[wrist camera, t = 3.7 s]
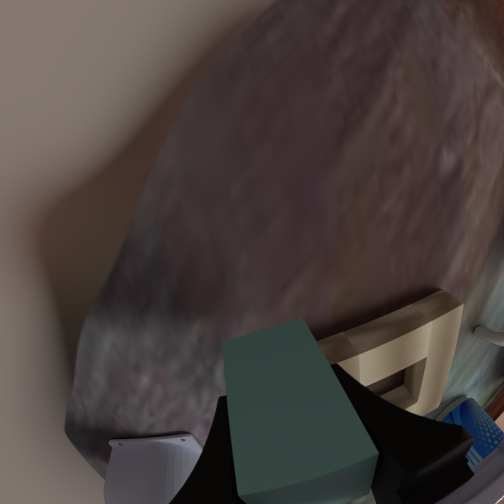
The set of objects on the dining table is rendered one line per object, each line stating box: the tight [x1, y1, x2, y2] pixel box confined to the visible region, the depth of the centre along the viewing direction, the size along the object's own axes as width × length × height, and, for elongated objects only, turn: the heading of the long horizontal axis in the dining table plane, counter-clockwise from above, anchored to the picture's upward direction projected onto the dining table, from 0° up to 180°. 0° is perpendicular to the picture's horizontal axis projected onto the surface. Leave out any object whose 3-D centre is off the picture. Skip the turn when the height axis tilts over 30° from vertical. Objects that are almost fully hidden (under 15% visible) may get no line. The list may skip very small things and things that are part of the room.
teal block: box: [222, 318, 379, 504], centre depth 10 cm, size 4×4×8 cm
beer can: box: [435, 397, 504, 469], centre depth 22 cm, size 8×8×16 cm
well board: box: [316, 289, 464, 416], centre depth 21 cm, size 14×14×3 cm
